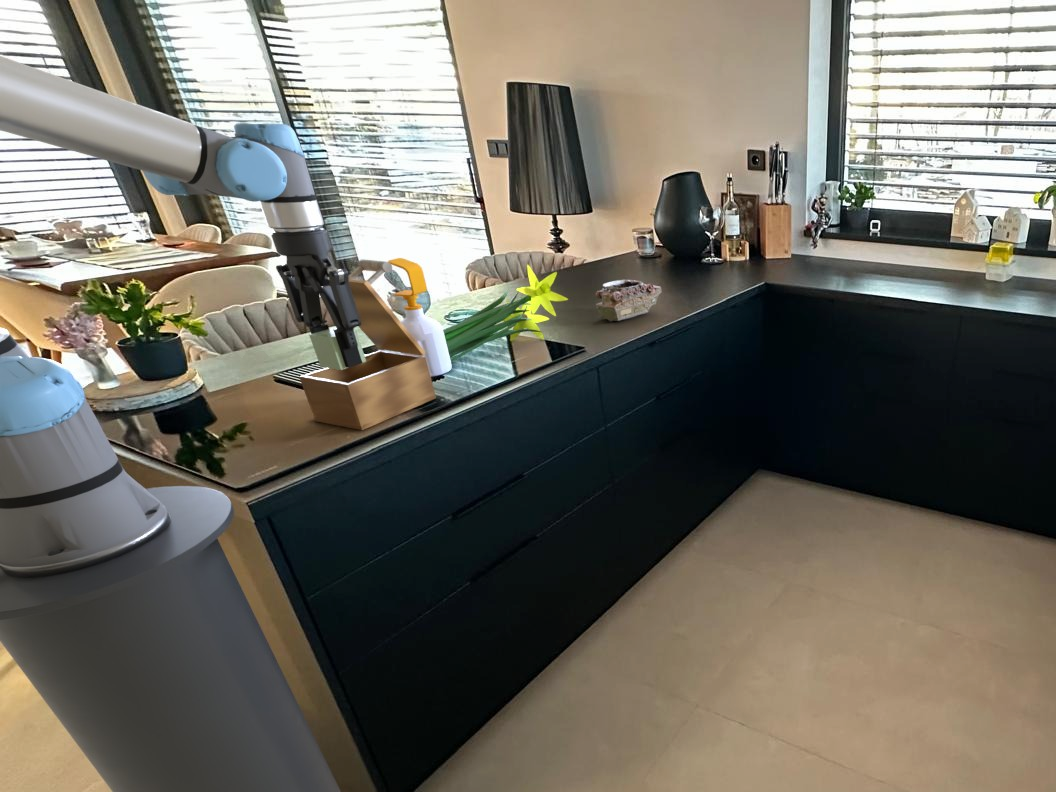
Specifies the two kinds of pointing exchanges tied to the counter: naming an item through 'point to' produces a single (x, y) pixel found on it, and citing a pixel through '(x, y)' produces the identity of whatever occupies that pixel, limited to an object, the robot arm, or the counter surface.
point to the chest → (369, 389)
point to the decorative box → (626, 299)
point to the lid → (379, 312)
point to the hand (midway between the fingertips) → (342, 362)
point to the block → (331, 349)
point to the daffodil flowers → (503, 317)
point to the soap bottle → (423, 321)
